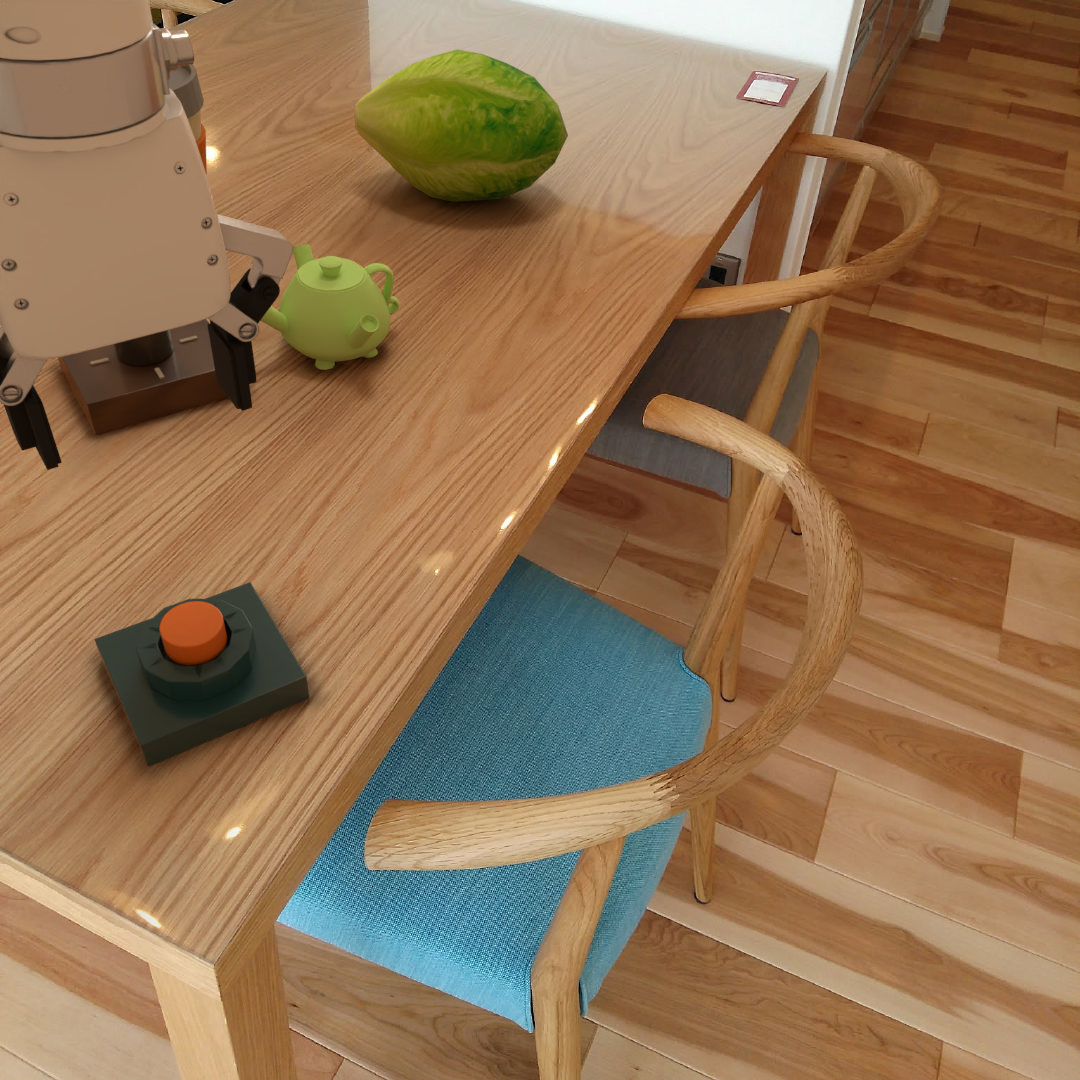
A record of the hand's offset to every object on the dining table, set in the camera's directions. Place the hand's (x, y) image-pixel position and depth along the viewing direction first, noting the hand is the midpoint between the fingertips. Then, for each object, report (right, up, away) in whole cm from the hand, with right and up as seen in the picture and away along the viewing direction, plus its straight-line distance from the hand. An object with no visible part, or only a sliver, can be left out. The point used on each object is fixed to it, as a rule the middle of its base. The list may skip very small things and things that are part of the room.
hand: (144, 423), depth 52 cm
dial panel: (-12, +7, +33) cm, 36 cm away
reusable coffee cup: (-19, +26, +52) cm, 61 cm away
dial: (-12, +10, +31) cm, 35 cm away
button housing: (-1, -15, +12) cm, 19 cm away
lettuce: (+11, +33, +62) cm, 72 cm away
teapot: (+1, +11, +39) cm, 40 cm away
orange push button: (-1, -12, +9) cm, 15 cm away
